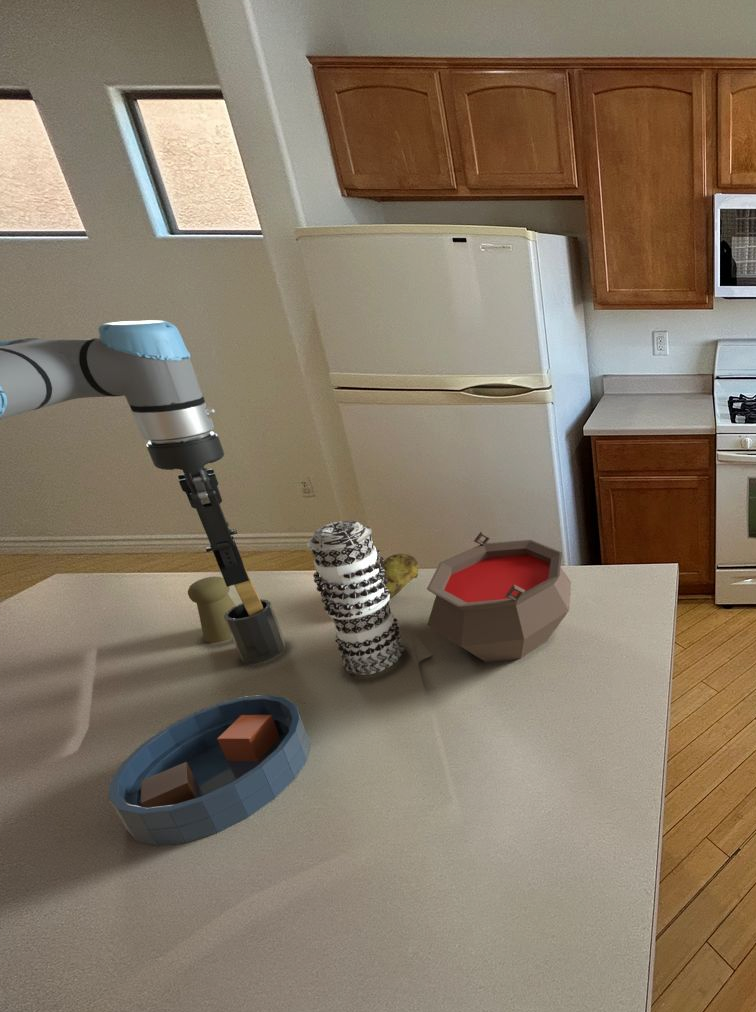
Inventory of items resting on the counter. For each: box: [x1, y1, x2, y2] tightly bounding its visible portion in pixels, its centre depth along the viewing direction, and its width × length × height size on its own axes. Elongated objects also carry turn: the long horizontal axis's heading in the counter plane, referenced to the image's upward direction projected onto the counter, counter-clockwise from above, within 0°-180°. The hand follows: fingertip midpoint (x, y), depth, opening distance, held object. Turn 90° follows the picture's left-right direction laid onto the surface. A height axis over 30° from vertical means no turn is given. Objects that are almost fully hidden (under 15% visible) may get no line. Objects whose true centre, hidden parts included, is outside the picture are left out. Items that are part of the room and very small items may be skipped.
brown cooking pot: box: [426, 530, 572, 663], centre depth 95 cm, size 24×24×16 cm
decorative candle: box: [306, 520, 405, 676], centre depth 86 cm, size 9×9×25 cm
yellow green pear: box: [381, 553, 419, 601], centre depth 106 cm, size 8×13×8 cm, turn 139°
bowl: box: [108, 694, 311, 847], centre depth 69 cm, size 18×18×6 cm
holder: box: [224, 598, 286, 665], centre depth 91 cm, size 6×6×9 cm
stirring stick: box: [233, 563, 264, 616], centre depth 87 cm, size 2×2×20 cm
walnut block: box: [140, 762, 199, 808], centre depth 65 cm, size 4×4×4 cm
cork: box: [187, 576, 236, 644], centre depth 95 cm, size 6×6×11 cm
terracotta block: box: [217, 715, 280, 761], centre depth 73 cm, size 4×4×4 cm
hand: (236, 579), depth 87 cm, fingers closed on stirring stick, 2 cm apart
